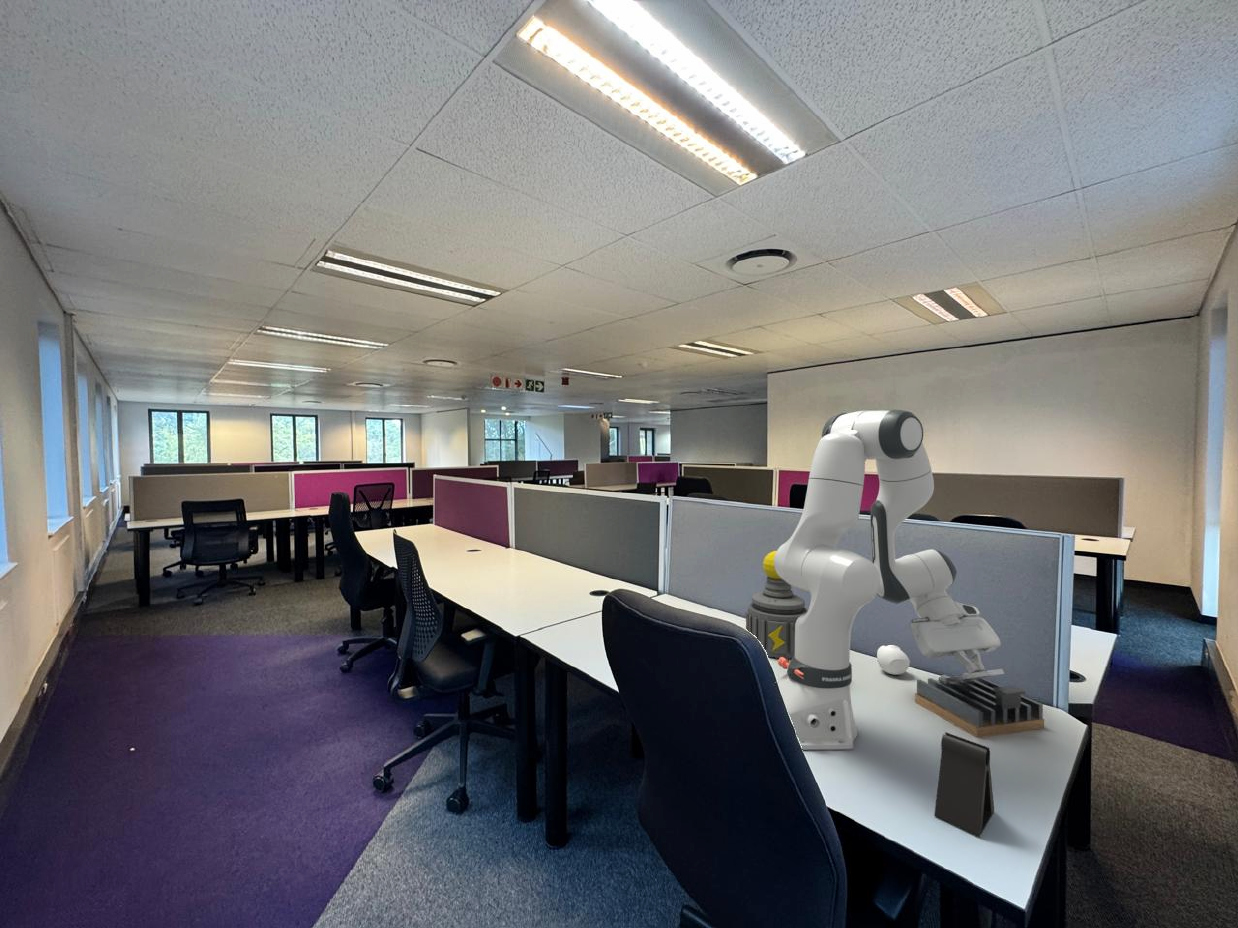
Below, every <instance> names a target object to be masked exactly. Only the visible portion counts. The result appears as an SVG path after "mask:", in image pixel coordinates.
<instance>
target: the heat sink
mask: <svg viewBox="0 0 1238 928" xmlns="http://www.w3.org/2000/svg"><path fill="white" fill-rule="evenodd" d="M964 674H970V673H969V672H963V673H962V675H964ZM953 676H954V675H951V676H948V675H947V674H942V675H941V674H940V676H939V677H938V680H935V679H934V678H928V679H927V682H926V681H924V680H923V679H917V680H916V692H915V693H914V702H915V703H917V704H919V705H920V706H921V707H923V708H925V709H927V710H928V711H930V712H932V713H933V714H935V715H937V716H938V717H940V718H942V719H943V720H945V721H947V722H950V723H951V724H952V725H954V726H956V727H957V728H958V729H961V730H963V731H964V732H966V733H967V734H969V735H971V736H973V737H975V738H984V737H992V736H998V735H1005V734H1012V733H1020V732H1026V731H1028V732H1029V731H1033V730H1034V731H1035V730H1040V729H1045V718H1044V717H1043V716H1044V715H1043V714H1044V712H1043V711H1044V709H1043V708H1044V704H1043V703H1041V702H1038V701H1036V700H1034V699H1032V698H1029V697H1028V696H1025V694H1026V690H1023V689H1021V688H1018V687H1017V686H1014V685H1005V686H1003V685H1001V684H998V683H996V682H994V681H991V680H989V679H987V678H986V677H982V678H976V679H970V680H963V681H953V682H951V677H953Z"/></svg>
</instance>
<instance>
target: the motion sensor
mask: <svg viewBox="0 0 1238 928" xmlns="http://www.w3.org/2000/svg"><path fill="white" fill-rule="evenodd" d="M876 659H877V663H878V665H879V668H880V669H882V670H883V671H884V672H885V673H887V674H889V675H892V676H893V675H894V676H896V675H902V674H904V673H906V672H907V670H908V669H909V668H910V665H911V660H910V659H909V656H908V655H907V654H906V653H905V652H904V651H902V650H901V647H899V646H897V645H894V644H889V645H881V646H880V647H879V648H878V649H877V655H876Z"/></svg>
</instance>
